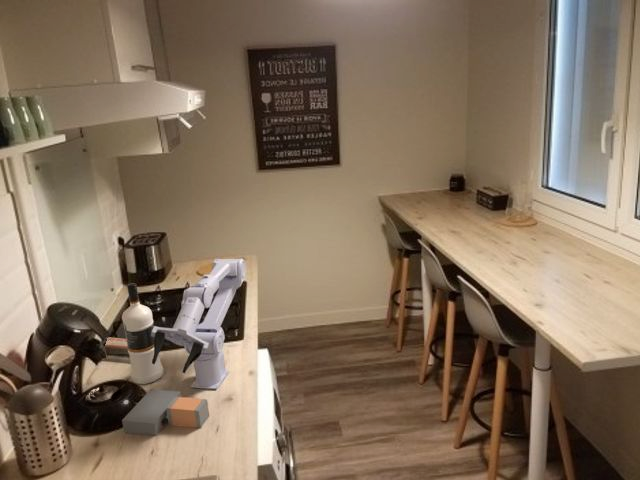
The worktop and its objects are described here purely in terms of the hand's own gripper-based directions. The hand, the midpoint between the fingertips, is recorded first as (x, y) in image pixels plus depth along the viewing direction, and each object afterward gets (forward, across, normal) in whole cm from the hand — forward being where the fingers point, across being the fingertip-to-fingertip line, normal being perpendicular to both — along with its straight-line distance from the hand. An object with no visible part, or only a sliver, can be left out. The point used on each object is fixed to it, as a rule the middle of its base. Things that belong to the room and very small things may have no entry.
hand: (168, 366), depth 128 cm
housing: (+5, +9, +14) cm, 17 cm away
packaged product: (-24, -18, +43) cm, 53 cm away
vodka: (-12, -7, +31) cm, 34 cm away
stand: (+4, 0, +19) cm, 19 cm away
